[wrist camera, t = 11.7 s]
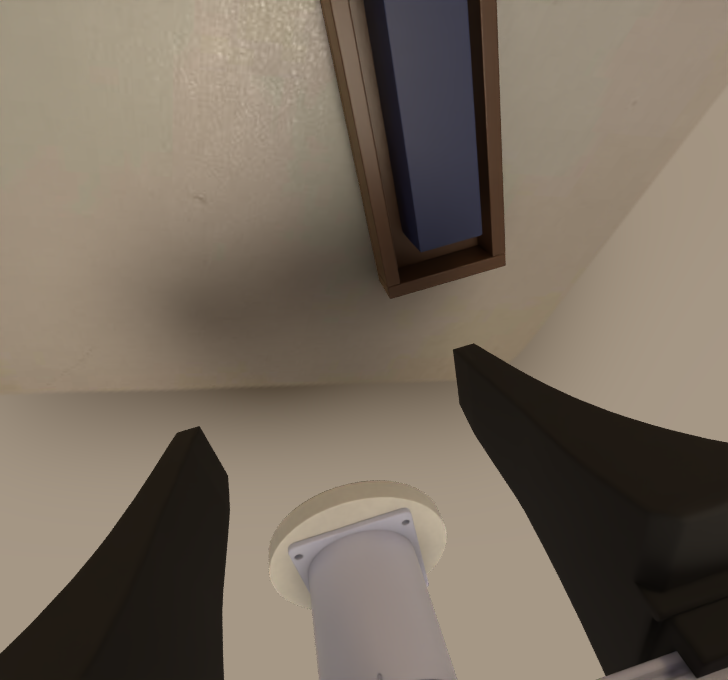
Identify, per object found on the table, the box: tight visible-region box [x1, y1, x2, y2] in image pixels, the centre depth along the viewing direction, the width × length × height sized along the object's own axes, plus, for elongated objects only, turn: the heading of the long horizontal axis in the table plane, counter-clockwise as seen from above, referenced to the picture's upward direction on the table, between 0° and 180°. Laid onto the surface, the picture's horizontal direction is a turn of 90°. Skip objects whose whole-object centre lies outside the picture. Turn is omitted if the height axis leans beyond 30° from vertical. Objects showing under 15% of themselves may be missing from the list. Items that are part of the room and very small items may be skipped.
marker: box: [363, 0, 482, 252], centre depth 15 cm, size 12×3×3 cm, turn 12°
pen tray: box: [320, 0, 506, 299], centre depth 16 cm, size 16×5×2 cm, turn 12°
